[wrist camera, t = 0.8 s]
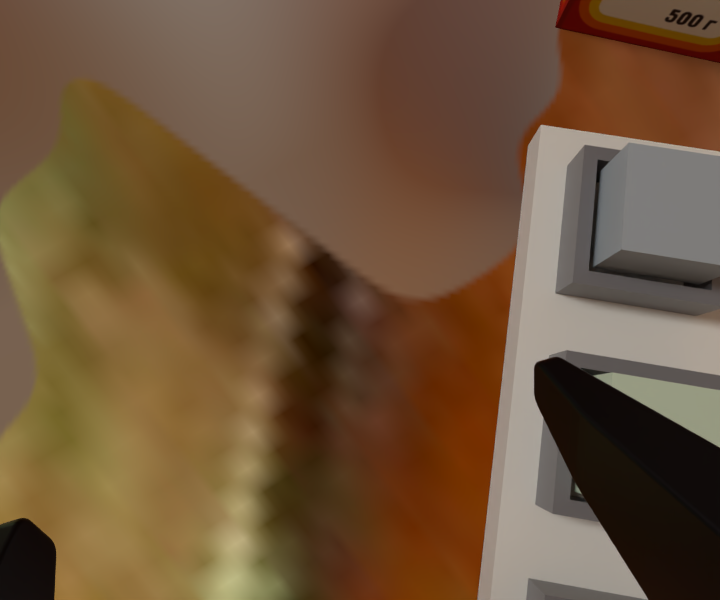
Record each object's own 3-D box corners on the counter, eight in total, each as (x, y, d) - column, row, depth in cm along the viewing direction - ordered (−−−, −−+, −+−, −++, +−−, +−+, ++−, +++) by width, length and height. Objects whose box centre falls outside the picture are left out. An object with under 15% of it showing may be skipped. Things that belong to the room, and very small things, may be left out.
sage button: (690, 511, 20) (735, 525, 18) (574, 491, 20) (603, 501, 18) (694, 395, 21) (738, 393, 19) (583, 377, 21) (612, 372, 19)
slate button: (699, 284, 22) (741, 268, 20) (592, 267, 22) (621, 249, 20) (702, 186, 23) (743, 159, 20) (600, 171, 23) (628, 142, 21)
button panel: (758, 829, 21) (848, 924, 17) (458, 770, 22) (480, 850, 18) (765, 181, 27) (834, 142, 23) (528, 145, 27) (556, 100, 23)
